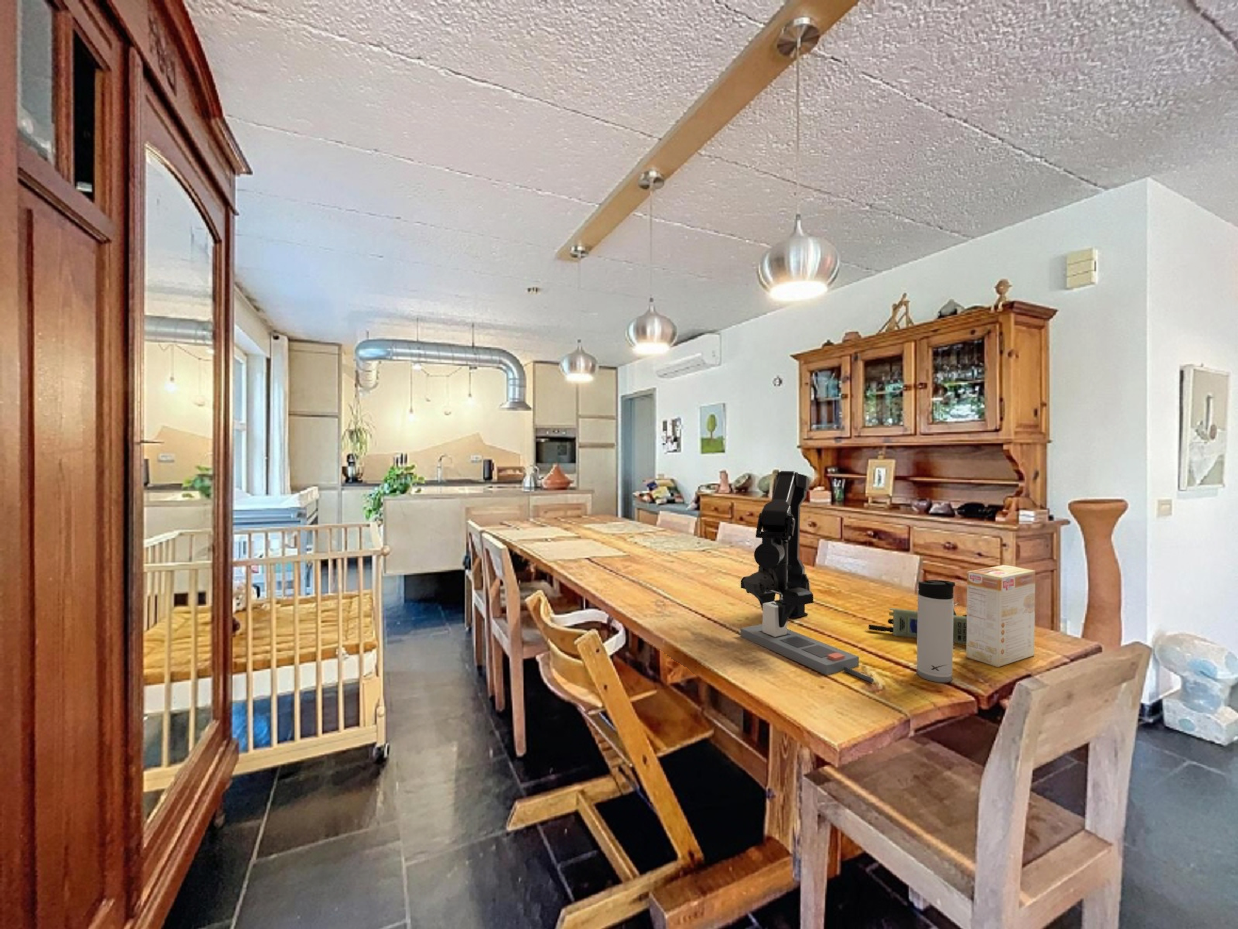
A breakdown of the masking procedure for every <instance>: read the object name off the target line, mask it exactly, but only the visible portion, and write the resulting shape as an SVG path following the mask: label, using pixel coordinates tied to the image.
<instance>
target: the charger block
mask: <svg viewBox="0 0 1238 929" xmlns="http://www.w3.org/2000/svg"><path fill="white" fill-rule="evenodd" d="M762 624H763V632H764V633H766V634H769V635H771V636H774V637H777V636H781V635H785V634H787V629H788V620H787V621H786V623H785V625H784V627H782V628H780V627H779V616H778V605H777V604H776V603H775V601H773V602H768V603H763V611H762Z"/></svg>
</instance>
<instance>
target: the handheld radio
mask: <svg viewBox="0 0 1238 929" xmlns="http://www.w3.org/2000/svg"><path fill="white" fill-rule="evenodd" d="M888 610H890V611H888V615H889V616H890V617H891V616H893V617H892V618H889V619H888V620H887V623H888V624H890V625H892V626H888V627H887V626H882V625H875V624H868V630H870V631H875V632H876V631H877V632H889V633H892V635H893V636H896V637H903V638H910V639H917V621H918V610H912V609H911V610H910V609H901V608H892V607H890V608H889V607H888ZM956 615H957V614H956ZM956 615H953V644H955V643H958V645H963V644H964V646H966V640H967V617H965V616H963V615H957V616H956Z"/></svg>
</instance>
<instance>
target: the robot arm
mask: <svg viewBox="0 0 1238 929" xmlns="http://www.w3.org/2000/svg"><path fill="white" fill-rule="evenodd" d="M774 479H775V480H774V481H775V482H774V483H775V484H774V492H773V494H772V498H771V501H770V502H767V503H765V504H764V505H763V507H762V510H761V512H759V515H758V520H757V527H756V532H755V538H756V539H761V543H760V544H758V546H756V548H755V550H754V552H753V556H754V558H753V559H754V561H755V562H756V565H758V570H757V571H756V572H754V573H751V574H750V575H747V576H743V577H742V578H741V579H740V589H744V590H745V592H746V593H747V594H751V595H752V596H754V598H756V599H757V600H758V603H759V604H760V607H761V611H762V612H763V603H768V602H773V601H775V603H776V604H777V605H778V616H779V627H780V628H782V627H784V625H785V623H786V621H787V622H788V619H789V618H790V619H795V618H801V617H806V616H807V617H808V616H809V614H808V612H806V605H808V604H814V593H813V591H812V590H811V588H810V587H811V586H810V580H809V578H808V574H806V567H805V565H804V563H803V562H802V560H801V558H800V540H801V539H800V538H801V537H800V536H801V534H800V531H801V530H800V529H801V506H802V504H803V502H804V501H805V499H806V498H807V492H809V489H810V480H809V478H808V476H807V475H805V474H802V473H799V472H798V471H795V470H780V471H778V472H777V473H776V475H775V478H774ZM776 595H779V597H778V598H779V599H776ZM775 599H776V600H775Z"/></svg>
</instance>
